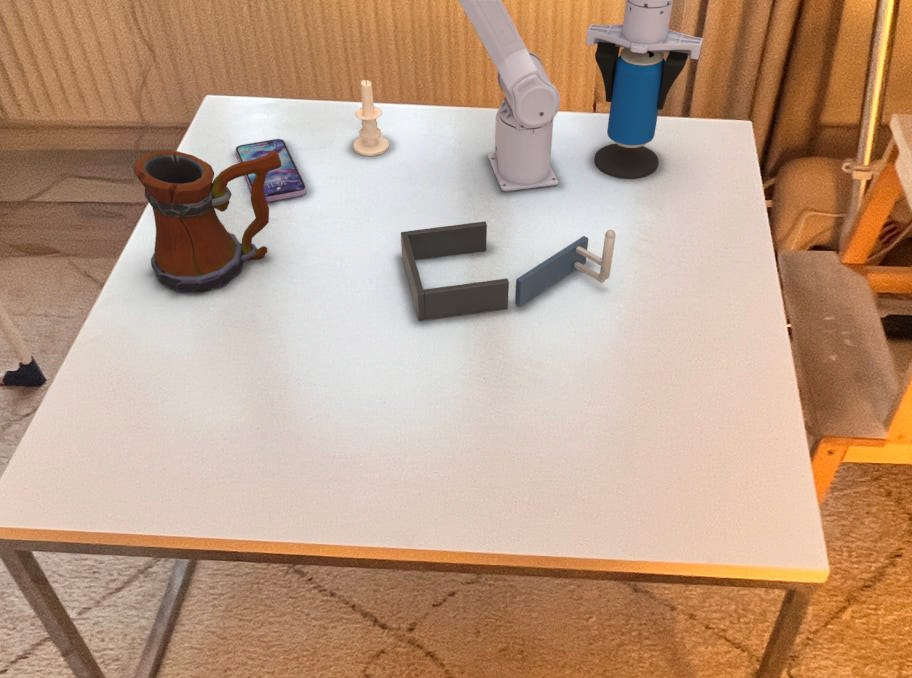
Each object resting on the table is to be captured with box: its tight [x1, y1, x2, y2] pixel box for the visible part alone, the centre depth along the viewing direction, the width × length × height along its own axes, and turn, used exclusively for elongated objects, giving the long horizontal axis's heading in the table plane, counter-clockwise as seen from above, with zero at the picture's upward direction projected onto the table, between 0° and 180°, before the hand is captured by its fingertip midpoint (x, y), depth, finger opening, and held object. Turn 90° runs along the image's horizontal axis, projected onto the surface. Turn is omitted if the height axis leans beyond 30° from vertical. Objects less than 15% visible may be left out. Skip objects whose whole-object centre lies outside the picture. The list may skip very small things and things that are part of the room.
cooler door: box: [514, 229, 617, 307], centre depth 109 cm, size 6×12×8 cm, turn 133°
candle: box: [352, 79, 390, 157], centre depth 132 cm, size 5×5×10 cm
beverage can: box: [606, 47, 666, 148], centre depth 125 cm, size 6×6×12 cm
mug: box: [132, 150, 281, 293], centre depth 112 cm, size 18×12×15 cm, turn 102°
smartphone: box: [235, 138, 307, 203], centre depth 132 cm, size 7×1×15 cm
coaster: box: [593, 143, 659, 180], centre depth 132 cm, size 9×9×1 cm
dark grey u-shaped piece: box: [400, 221, 510, 322], centre depth 113 cm, size 11×13×4 cm
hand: (634, 102), depth 125 cm, fingers closed on beverage can, 6 cm apart
